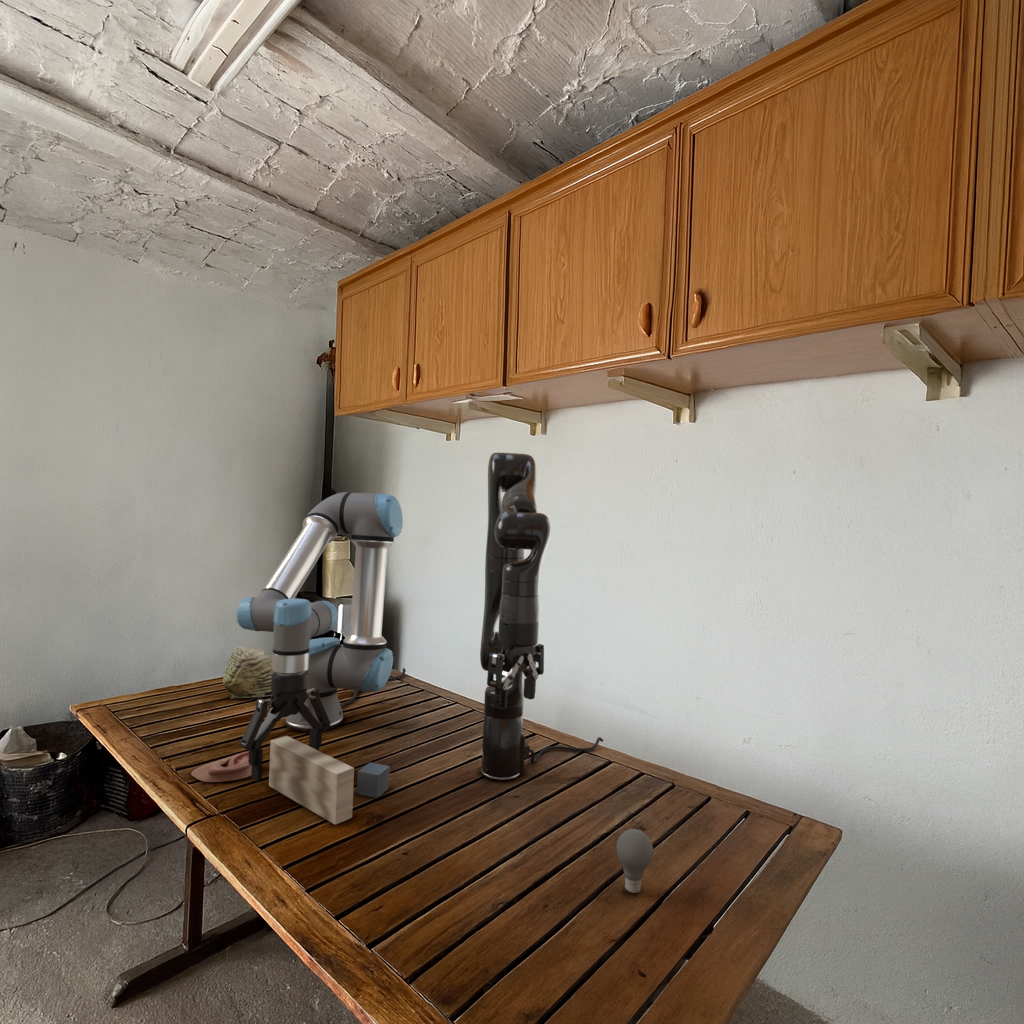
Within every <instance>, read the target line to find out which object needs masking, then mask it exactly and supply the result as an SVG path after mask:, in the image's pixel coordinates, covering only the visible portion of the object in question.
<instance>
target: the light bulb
mask: <svg viewBox="0 0 1024 1024" xmlns="http://www.w3.org/2000/svg"><path fill="white" fill-rule="evenodd" d="M615 849H616V854H617V857H618V859H619V861H620V863H621V865H622V867H623V873H624V874H623V875H624V876H625V878H624V888H625V890H627V891H628V892H630V893H634V894H635V893H639V892H640V891H641V889H642V887H641V886H642V879H643V877H644V875H645V871H646V868H647V867H648V866H649V864H650V863H651V861H652V859H653V855H654V847H653V843H652V841H651V838H649V836H648V835H647V834H646V833H645V832H643V831H642V830H641V829H636V828H629V829H627V830H625V831H623V832H622V833H621V834H620V835H619V837H618V839H617V841H616V847H615Z"/></svg>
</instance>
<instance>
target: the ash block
mask: <svg viewBox="0 0 1024 1024" xmlns="http://www.w3.org/2000/svg"><path fill="white" fill-rule="evenodd" d="M269 747H270V749H269V769H268V770H269V771H268V787H270V788H272V789H273V790H274V791H277V792H278V793H280V794H282V795H284V796H285V797H287V798H288V799H290V800H292V801H294V802H295V803H297V804H298V805H301V806H302V807H304V808H306V809H307V810H308V811H311V812H312V813H315V814H316V815H317V816H319V817H321V818H323V819H324V820H326V821H328V822H330V823H331V824H333V825H335V826H336V825H339V824H341V823H343V822H345V821H348V820H350V819H352V818H353V808H354V807H353V806H354V804H353V803H354V784H355V783H354V782H355V781H354V780H355V778H354V777H355V767H353V766H351V765H349V764H347V763H346V762H345V763H344V762H343V761H341V760H338V759H336V758H334V757H333V756H330V755H329V754H326V753H324V752H321V751H320V750H319V751H318V750H316V749H314V748H311V747H309V745H307V744H305V743H303V742H301V741H299V740H297V739H295V738H293V737H290V736H288V735H285V736H281V737H278V738H275V739H271V740H270V741H269Z"/></svg>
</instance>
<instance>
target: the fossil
mask: <svg viewBox="0 0 1024 1024" xmlns="http://www.w3.org/2000/svg"><path fill="white" fill-rule="evenodd" d="M272 659H273V658H271V657H270V656H269V655H268V654H267V653H266V652H265V650H264V649H263V648H260V647H258V648H251V647H247V646H246V647H245V646H238V647H237V648H236V649H235V650H233V651H232V653H231V656H230V657H229V659H228V660H227V663H226V666H225V668H224V671H223V675H222V676H223V677H222V685H223V687H224V688H225V690H226V691H228V693H229V698H230V699H250V698H264V697H271V695H272V691H271V677H272V674H273V673H274V672H273V671H272Z"/></svg>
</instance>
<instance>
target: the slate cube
mask: <svg viewBox="0 0 1024 1024" xmlns="http://www.w3.org/2000/svg"><path fill="white" fill-rule="evenodd" d="M390 769H391V766H390V765H386V764H381V763H376V762H371V761H370V762H368V763H367V764H365V765H363V766H362V767H361V768H360V769H359V770H357V779H356V780H357V781H356V794H357V795H361V796H366V797H370V798H375V799H378V798H380V796H382V795H383V794H384V793H385V792H387V791H388V790H389V789H390V771H391V770H390Z"/></svg>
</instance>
